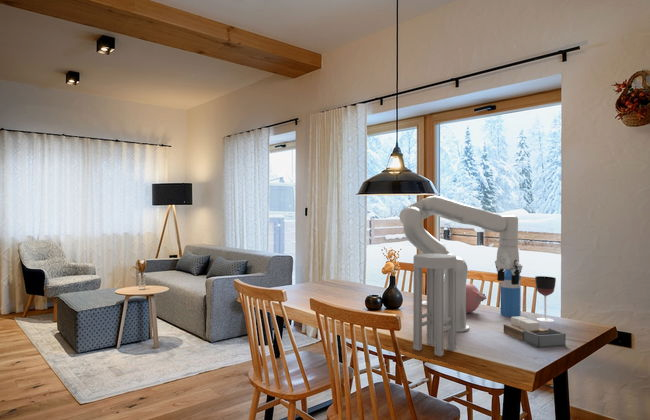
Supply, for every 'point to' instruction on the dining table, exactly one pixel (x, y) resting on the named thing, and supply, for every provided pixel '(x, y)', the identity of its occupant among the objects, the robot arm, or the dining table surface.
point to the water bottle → (510, 296)
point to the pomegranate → (473, 297)
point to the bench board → (519, 331)
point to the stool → (434, 301)
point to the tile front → (529, 325)
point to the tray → (545, 338)
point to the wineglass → (545, 291)
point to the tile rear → (517, 320)
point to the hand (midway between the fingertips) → (507, 282)
